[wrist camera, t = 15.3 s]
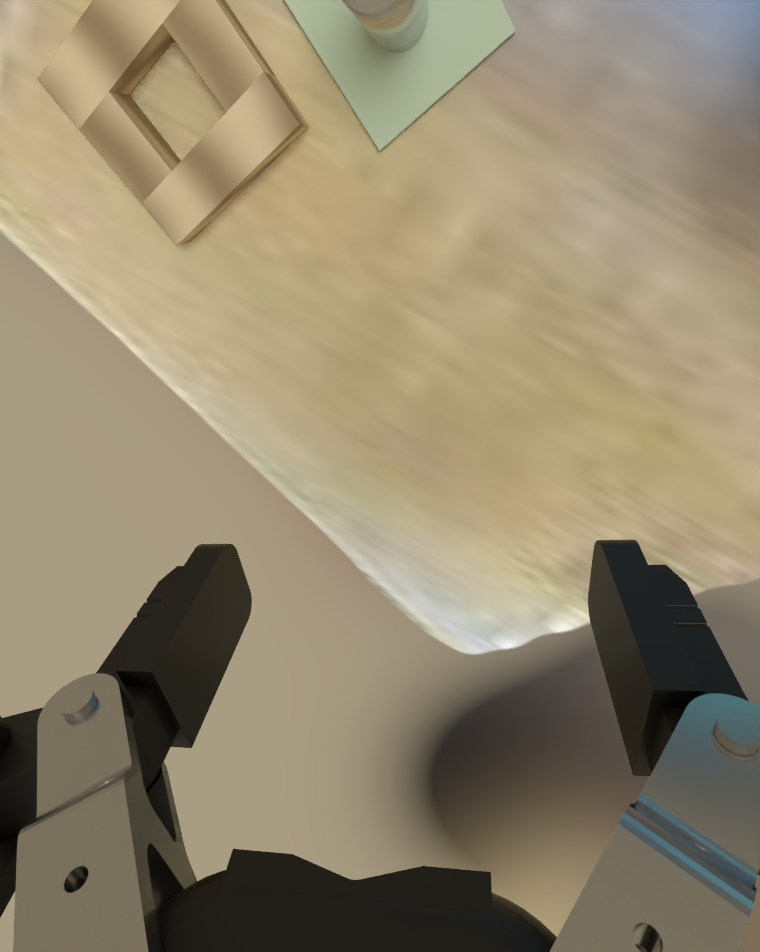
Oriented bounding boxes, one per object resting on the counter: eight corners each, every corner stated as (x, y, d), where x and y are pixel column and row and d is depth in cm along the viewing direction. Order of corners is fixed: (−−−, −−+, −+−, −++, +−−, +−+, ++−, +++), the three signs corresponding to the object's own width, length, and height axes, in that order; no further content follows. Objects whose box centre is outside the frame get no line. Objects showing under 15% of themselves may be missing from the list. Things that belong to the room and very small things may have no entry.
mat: (419, -164, 27) (418, -170, 27) (515, 32, 31) (516, 30, 31) (281, -7, 31) (278, -9, 31) (380, 150, 35) (379, 151, 35)
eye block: (176, -73, 31) (155, -89, 28) (308, 125, 35) (299, 124, 33) (62, 83, 35) (37, 79, 33) (191, 240, 40) (176, 245, 38)
